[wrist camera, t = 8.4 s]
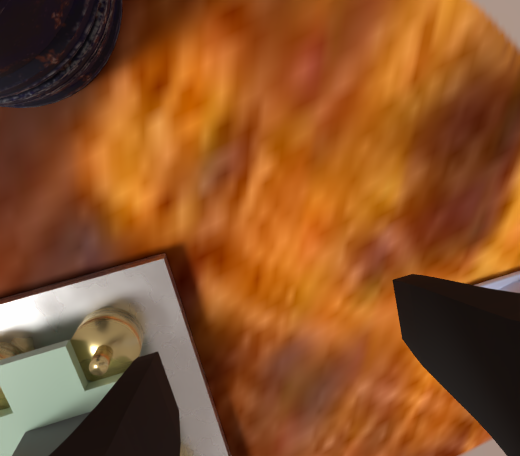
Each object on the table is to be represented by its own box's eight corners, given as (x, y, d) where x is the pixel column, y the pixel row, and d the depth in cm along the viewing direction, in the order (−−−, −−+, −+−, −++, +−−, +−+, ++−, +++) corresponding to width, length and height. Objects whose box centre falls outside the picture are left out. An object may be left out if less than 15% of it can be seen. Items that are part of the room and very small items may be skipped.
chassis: (165, 252, 20) (159, 277, 17) (242, 489, 25) (250, 549, 21) (-99, 326, 19) (-165, 370, 16) (29, 562, 23) (0, 639, 20)
